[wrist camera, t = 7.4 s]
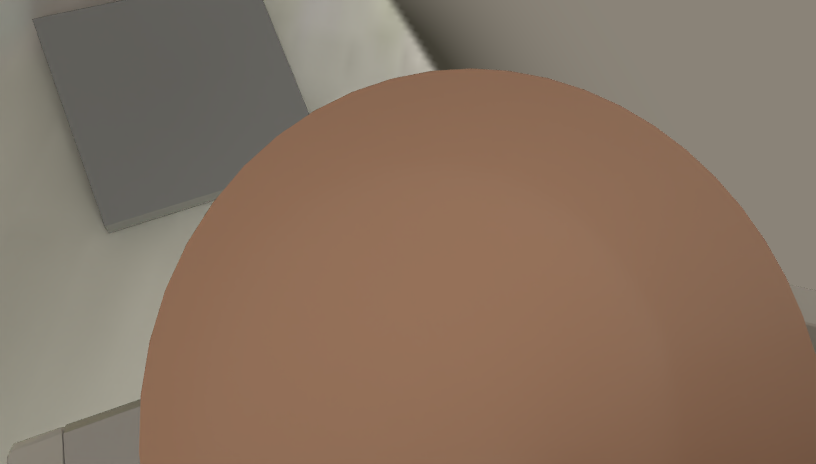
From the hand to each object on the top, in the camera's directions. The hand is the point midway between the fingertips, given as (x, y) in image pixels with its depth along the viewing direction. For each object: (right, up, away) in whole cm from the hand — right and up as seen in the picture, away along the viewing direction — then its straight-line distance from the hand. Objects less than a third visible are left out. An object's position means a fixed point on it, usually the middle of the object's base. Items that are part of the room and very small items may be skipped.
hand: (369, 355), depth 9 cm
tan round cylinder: (-1, -2, +4) cm, 5 cm away
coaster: (-9, +7, +20) cm, 23 cm away
